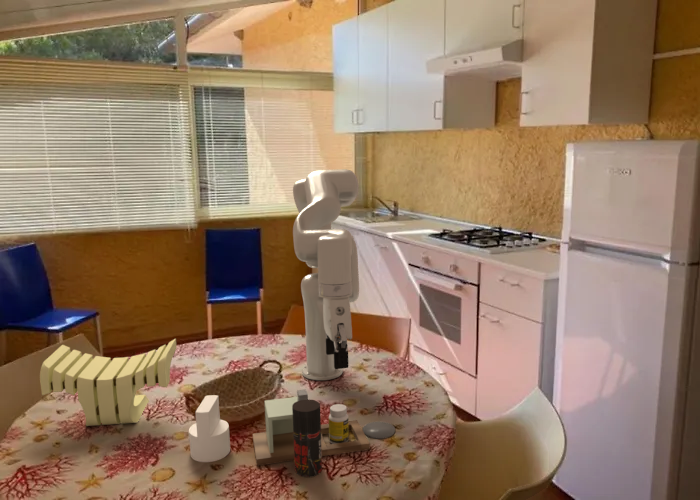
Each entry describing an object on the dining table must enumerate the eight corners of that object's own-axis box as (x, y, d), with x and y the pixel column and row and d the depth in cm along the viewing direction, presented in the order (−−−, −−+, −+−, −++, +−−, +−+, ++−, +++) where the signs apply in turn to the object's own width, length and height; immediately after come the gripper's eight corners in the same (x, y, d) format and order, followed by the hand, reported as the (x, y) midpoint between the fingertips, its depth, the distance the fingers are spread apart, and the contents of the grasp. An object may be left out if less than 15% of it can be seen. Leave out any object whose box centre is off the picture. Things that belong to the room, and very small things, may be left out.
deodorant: (294, 463, 131) (292, 400, 128) (321, 461, 131) (319, 398, 128) (294, 478, 125) (292, 412, 122) (322, 476, 125) (320, 410, 122)
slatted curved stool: (46, 433, 146) (38, 366, 143) (69, 405, 162) (62, 344, 159) (169, 425, 149) (164, 359, 146) (180, 398, 165) (175, 338, 162)
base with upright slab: (197, 442, 141) (193, 395, 139) (234, 441, 140) (231, 395, 138) (185, 462, 132) (181, 412, 130) (225, 462, 132) (221, 412, 129)
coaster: (359, 425, 147) (359, 423, 147) (389, 421, 149) (389, 419, 149) (367, 440, 140) (367, 439, 140) (399, 436, 141) (399, 434, 141)
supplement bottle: (346, 446, 137) (345, 412, 136) (327, 444, 138) (326, 411, 137) (350, 436, 142) (350, 403, 140) (331, 434, 143) (330, 402, 141)
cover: (266, 434, 140) (263, 388, 138) (307, 428, 143) (305, 384, 140) (270, 453, 132) (267, 405, 130) (313, 447, 134) (312, 399, 132)
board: (252, 439, 141) (252, 433, 141) (357, 425, 147) (357, 419, 147) (256, 465, 130) (256, 459, 130) (369, 449, 136) (369, 443, 135)
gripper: (360, 297, 126) (361, 373, 129) (342, 279, 142) (344, 346, 146) (326, 299, 124) (328, 376, 127) (312, 281, 141) (314, 349, 144)
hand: (336, 360), depth 136 cm, fingers open, 8 cm apart
